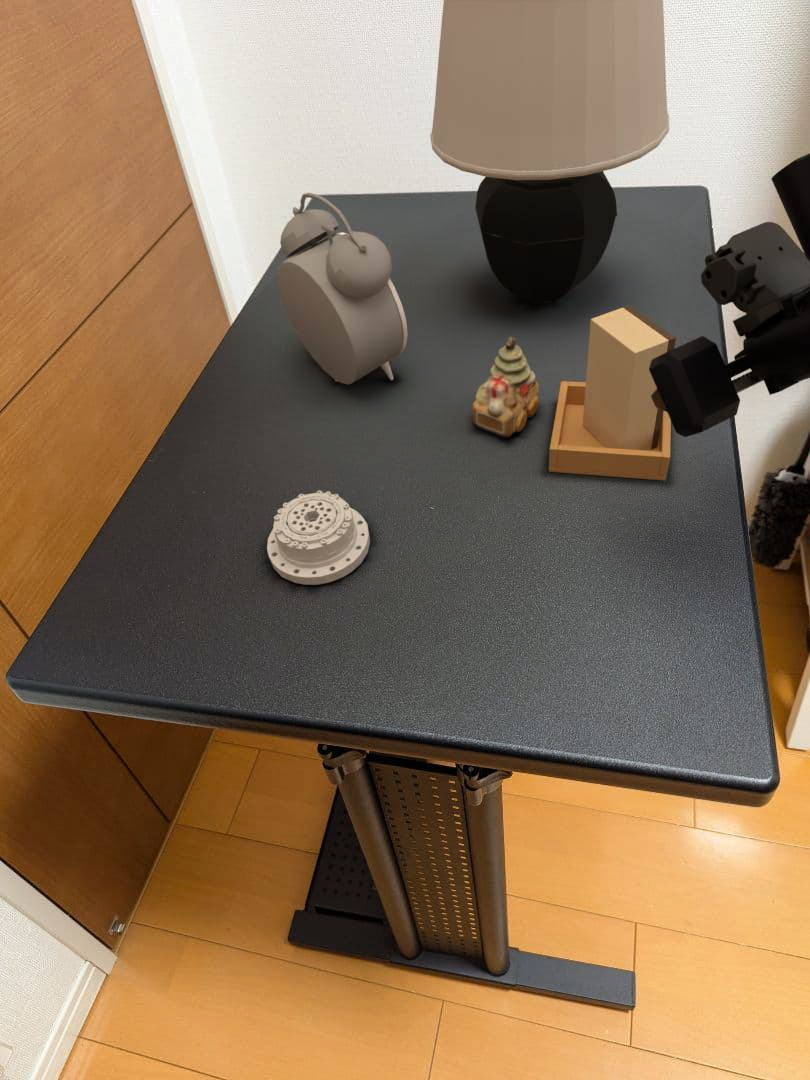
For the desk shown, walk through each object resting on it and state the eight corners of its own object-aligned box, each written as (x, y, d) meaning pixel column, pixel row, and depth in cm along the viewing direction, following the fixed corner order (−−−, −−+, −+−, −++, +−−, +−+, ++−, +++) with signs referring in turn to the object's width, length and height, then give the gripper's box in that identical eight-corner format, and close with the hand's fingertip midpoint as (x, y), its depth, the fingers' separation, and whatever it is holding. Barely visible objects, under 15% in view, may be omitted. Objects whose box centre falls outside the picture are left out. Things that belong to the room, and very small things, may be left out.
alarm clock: (421, 386, 92) (401, 203, 76) (362, 418, 89) (329, 234, 73) (345, 334, 102) (313, 163, 86) (290, 361, 99) (246, 188, 83)
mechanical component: (299, 504, 80) (251, 573, 74) (290, 472, 77) (239, 542, 71) (386, 523, 77) (344, 597, 71) (380, 491, 74) (335, 566, 68)
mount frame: (667, 409, 84) (671, 386, 82) (665, 480, 77) (670, 457, 75) (560, 403, 87) (561, 380, 85) (548, 471, 80) (549, 448, 77)
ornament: (517, 446, 83) (517, 368, 76) (465, 433, 85) (460, 356, 78) (544, 404, 87) (546, 326, 80) (494, 393, 90) (492, 316, 82)
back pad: (617, 412, 84) (629, 304, 75) (657, 447, 79) (676, 337, 70) (582, 425, 83) (590, 318, 74) (621, 462, 78) (635, 353, 69)
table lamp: (628, 362, 91) (680, -59, 62) (414, 338, 99) (373, -42, 71) (660, 254, 108) (713, -118, 79) (475, 241, 116) (461, -98, 87)
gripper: (899, 163, 52) (741, 257, 67) (689, 250, 47) (569, 331, 62) (960, 314, 53) (790, 374, 68) (760, 415, 48) (624, 456, 63)
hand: (696, 380), depth 65 cm, fingers open, 9 cm apart
